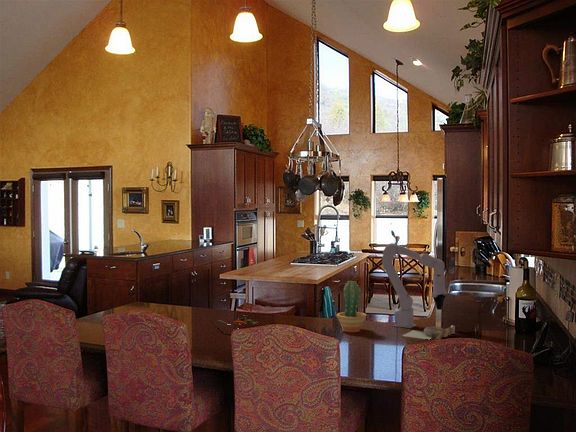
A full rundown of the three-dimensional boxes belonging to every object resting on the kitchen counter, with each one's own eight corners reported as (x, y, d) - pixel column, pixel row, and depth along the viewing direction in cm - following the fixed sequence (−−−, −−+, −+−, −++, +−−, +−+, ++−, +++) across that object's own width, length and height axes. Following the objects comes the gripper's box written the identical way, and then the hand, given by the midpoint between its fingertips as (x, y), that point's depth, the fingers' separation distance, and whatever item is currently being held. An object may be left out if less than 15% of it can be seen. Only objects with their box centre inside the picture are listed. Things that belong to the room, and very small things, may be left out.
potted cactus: (371, 328, 275) (371, 280, 275) (358, 334, 262) (357, 284, 262) (345, 325, 284) (344, 278, 283) (330, 331, 271) (330, 282, 271)
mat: (401, 336, 258) (401, 335, 258) (413, 330, 269) (413, 330, 269) (429, 340, 250) (429, 339, 250) (440, 334, 261) (440, 333, 261)
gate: (434, 341, 245) (434, 333, 245) (431, 340, 246) (431, 333, 246) (452, 334, 258) (452, 327, 258) (450, 333, 259) (450, 327, 259)
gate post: (450, 334, 259) (450, 325, 259) (451, 334, 261) (451, 325, 261) (454, 335, 258) (454, 326, 258) (455, 334, 260) (455, 325, 260)
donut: (419, 334, 261) (433, 338, 252) (419, 327, 261) (433, 330, 252) (435, 332, 265) (449, 335, 256) (435, 325, 265) (449, 328, 256)
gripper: (441, 285, 267) (441, 312, 267) (451, 281, 278) (451, 307, 279) (427, 284, 271) (428, 311, 271) (438, 281, 283) (438, 306, 283)
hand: (439, 309), depth 275 cm, fingers closed
